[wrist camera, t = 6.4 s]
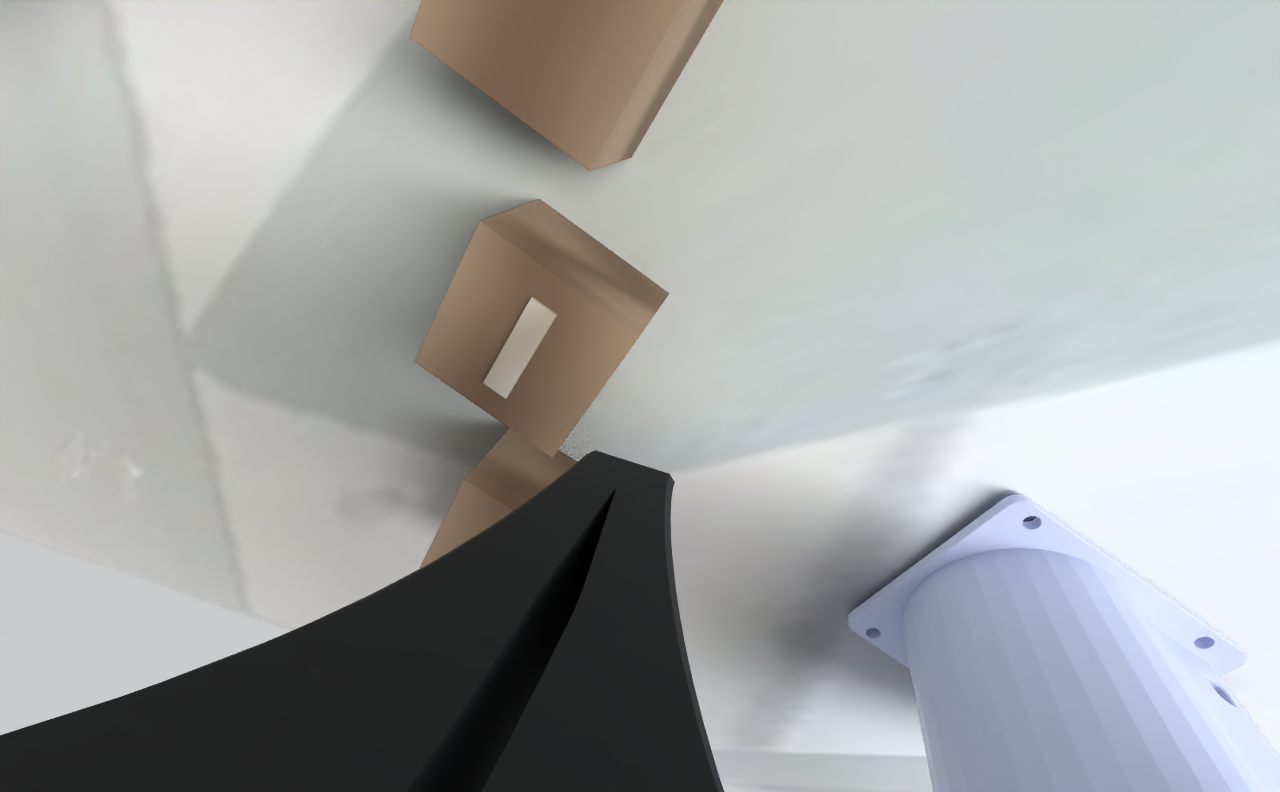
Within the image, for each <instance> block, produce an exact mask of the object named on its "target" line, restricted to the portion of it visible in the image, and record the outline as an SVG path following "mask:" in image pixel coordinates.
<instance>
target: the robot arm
mask: <svg viewBox="0 0 1280 792" xmlns="http://www.w3.org/2000/svg"><path fill="white" fill-rule="evenodd" d="M674 483H675V482H674V480H673V479H672V477H671V475H670V474H668V473H665V472H662V471H659V470H655V469H652V468H649V467H646V466H643V465H640V464H636V463H633V462H630V461H627V460H624V459H620V458H617V457H614V456H611V455H608V454H605V453H601V452H598V451H593V452H591V453H589V454H587V455H586V456H584V457H583V458H582V459H581V460H580V461H579V462H577V463H576V464H575V465H574V466H572V467H571V468H570V469H569V470H568V471H566V472H565V473H564V474H563V475H561V476H560V477H559V478H557V479H556V480H555V481H554V482H552V483H551V484H550V485H548V486H547V487H546V488H544V489H543V490H542V491H540V492H539V493H538V494H536V495H535V496H534V497H532V498H531V499H529V500H528V501H526V502H525V503H524V504H522V505H521V506H519V507H518V508H517V509H515V510H514V511H512V512H511V513H509V514H508V515H507V516H505V517H504V518H502V519H501V520H499V521H498V522H496V523H495V524H493V525H492V526H490V527H489V528H487V529H485V530H484V531H482V532H481V533H479V534H477V535H476V536H474V537H473V538H471V539H469V540H468V541H466V542H465V543H463V544H461V545H460V546H458V547H456V548H455V549H453V550H452V551H450V552H448V553H447V554H445V555H443V556H442V557H440V558H438V559H436V560H435V561H433V562H431V563H429V564H428V565H426V566H424V567H422V568H421V569H419V570H417V571H415V572H413V573H411V574H410V575H408V576H406V577H404V578H402V579H400V580H398V581H396V582H394V583H392V584H390V585H388V586H387V587H385V588H383V589H381V590H379V591H377V592H375V593H373V594H371V595H369V596H367V597H365V598H363V599H360V600H358V601H356V602H354V603H352V604H350V605H348V606H346V607H343V608H341V609H339V610H337V611H335V612H333V613H331V614H328V615H326V616H324V617H322V618H320V619H318V620H316V621H313V622H311V623H309V624H307V625H304V626H302V627H300V628H298V629H295V630H293V631H291V632H288V633H286V634H284V635H281V636H279V637H277V638H274V639H272V640H269V641H267V642H265V643H262V644H260V645H257V646H254V647H252V648H249V649H246V650H244V651H241V652H239V653H236V654H234V655H231V656H229V657H226V658H223V659H221V660H218V661H216V662H213V663H210V664H208V665H205V666H202V667H200V668H197V669H195V670H192V671H189V672H187V673H184V674H182V675H179V676H176V677H174V678H171V679H169V680H166V681H164V682H161V683H158V684H155V685H152V686H149V687H147V688H144V689H141V690H138V691H135V692H133V693H130V694H127V695H124V696H121V697H119V698H116V699H112V700H109V701H106V702H103V703H100V704H97V705H94V706H91V707H87V708H84V709H81V710H78V711H75V712H72V713H69V714H66V715H62V716H60V717H56V718H53V719H50V720H47V721H44V722H41V723H38V724H35V725H31V726H28V727H25V728H22V729H19V730H16V731H13V732H10V733H7V734H3V735H0V792H724V790H723V787H722V784H721V781H720V778H719V775H718V772H717V768H716V765H715V761H714V758H713V754H712V751H711V747H710V744H709V740H708V737H707V733H706V730H705V726H704V723H703V719H702V715H701V711H700V707H699V703H698V700H697V696H696V692H695V688H694V684H693V679H692V675H691V671H690V666H689V662H688V657H687V652H686V647H685V642H684V637H683V631H682V625H681V620H680V614H679V608H678V601H677V594H676V587H675V578H674V569H673V559H672V548H671V522H670V515H671V498H672V490H673V486H674ZM1029 516H1036V518H1035V519H1034V520H1032V521H1030V522H1024V521H1023V520H1024V519H1025V518H1027V517H1029ZM848 625H849V628H850V629H851V630H852V631H853V632H854V633H856V634H857V635H859V636H860V637H862V638H863V639H865V640H866V641H868V642H869V643H871V644H872V645H874V646H875V647H877V648H878V649H880V650H881V651H883V652H884V653H886V654H887V655H889V656H890V657H892V658H893V659H895V660H896V661H897V662H899V663H900V664H902V665H903V666H905V667H906V668H908V669H909V670H910V672H911V678H912V683H913V688H914V693H915V699H916V704H917V709H918V714H919V719H920V725H921V730H922V735H923V740H924V745H925V751H926V756H927V761H928V766H929V771H930V777H931V782H932V787H933V792H1280V755H1279V754H1278V753H1277V751H1276V750H1275V749H1274V747H1273V746H1272V745H1271V743H1270V742H1269V740H1268V739H1267V738H1266V736H1265V735H1264V734H1263V732H1262V731H1261V730H1260V728H1259V727H1258V725H1257V724H1256V723H1255V721H1254V720H1253V719H1252V717H1251V716H1250V715H1249V713H1248V712H1247V710H1246V709H1245V708H1244V706H1243V705H1242V704H1241V702H1240V701H1239V700H1238V698H1237V697H1236V695H1235V694H1234V693H1233V691H1232V690H1231V689H1230V687H1229V686H1228V685H1227V683H1226V682H1225V680H1224V679H1223V678H1222V676H1221V675H1223V674H1225V673H1227V672H1229V671H1231V670H1234V669H1236V668H1238V667H1240V666H1241V665H1243V664H1244V663H1245V662H1246V660H1247V654H1246V653H1245V652H1244V651H1243V649H1242V648H1241V647H1240V646H1239V645H1238V644H1237V643H1236V642H1235V641H1233V640H1232V639H1230V638H1229V637H1228V636H1226V635H1225V634H1223V633H1222V632H1220V631H1219V630H1218V629H1216V628H1215V627H1213V626H1212V625H1210V624H1209V623H1208V622H1206V621H1205V620H1203V619H1202V618H1200V617H1199V616H1198V615H1196V614H1195V613H1193V612H1192V611H1190V610H1189V609H1188V608H1186V607H1185V606H1183V605H1182V604H1180V603H1179V602H1178V601H1176V600H1175V599H1173V598H1172V597H1170V596H1169V595H1167V594H1166V593H1165V592H1163V591H1162V590H1160V589H1159V588H1157V587H1156V586H1155V585H1153V584H1152V583H1150V582H1149V581H1147V580H1146V579H1145V578H1143V577H1142V576H1140V575H1139V574H1137V573H1136V572H1135V571H1133V570H1132V569H1130V568H1129V567H1127V566H1126V565H1125V564H1123V563H1122V562H1120V561H1119V560H1117V559H1116V558H1115V557H1113V556H1112V555H1110V554H1109V553H1107V552H1106V551H1104V550H1103V549H1102V548H1100V547H1099V546H1097V545H1096V544H1094V543H1093V542H1092V541H1090V540H1089V539H1087V538H1086V537H1084V536H1083V535H1082V534H1080V533H1079V532H1077V531H1076V530H1074V529H1073V528H1072V527H1070V526H1069V525H1067V524H1066V523H1064V522H1063V521H1062V520H1060V519H1059V518H1057V517H1056V516H1054V515H1053V514H1052V513H1050V512H1049V511H1047V510H1046V509H1044V508H1043V507H1042V506H1040V505H1039V504H1037V503H1036V502H1034V501H1033V500H1031V499H1030V498H1028V497H1026V496H1024V495H1017V494H1016V495H1010V496H1008V497H1006V498H1004V499H1002V500H1001V501H1000V502H998V503H997V504H996V505H994V506H993V507H991V508H990V509H989V510H987V511H986V512H985V513H983V514H982V515H981V516H979V517H978V518H977V519H975V520H974V521H973V522H971V523H970V524H969V525H967V526H966V527H965V528H963V529H962V530H961V531H959V532H958V533H956V534H955V535H954V536H952V537H951V538H950V539H948V540H947V541H946V542H944V543H943V544H942V545H940V546H939V547H938V548H936V549H935V550H934V551H932V552H931V553H930V554H928V555H927V556H926V557H924V558H923V559H922V560H920V561H919V562H917V563H916V564H915V565H913V566H912V567H911V568H909V569H908V570H907V571H905V572H904V573H903V574H901V575H900V576H899V577H897V578H896V579H895V580H893V581H892V582H891V583H889V584H888V585H887V586H885V587H884V588H883V589H881V590H880V591H878V592H877V593H876V594H874V595H873V596H872V597H870V598H869V599H868V600H866V601H865V602H864V603H862V604H861V605H860V606H858V607H857V608H856V609H854V610H853V611H852V612H851V613H850V614H849V615H848ZM870 628H875V629H876V630H869V629H870ZM1201 637H1203V638H1201ZM1197 638H1199V639H1197Z"/></svg>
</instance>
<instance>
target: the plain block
mask: <svg viewBox="0 0 1280 792" xmlns="http://www.w3.org/2000/svg"><path fill="white" fill-rule="evenodd" d="M722 2H723V0H422V1H421V4H420V7H419V10H418V13H417V16H416V19H415V22H414V25H413V28H412V31H411V34H410V37H409V38H411V39H412V40H413V41H415V42H416V43H418V44H419V45H420V46H422V47H423V48H424V49H426V50H427V51H428V52H430V53H431V54H432V55H434V56H435V57H436V58H438V59H439V60H440V61H442V62H443V63H445V64H446V65H447V66H449V67H450V68H451V69H453V70H454V71H455V72H457V73H458V74H459V75H461V76H462V77H463V78H465V79H466V80H468V81H469V82H470V83H472V84H473V85H474V86H476V87H477V88H478V89H480V90H481V91H482V92H484V93H485V94H486V95H488V96H489V97H491V98H492V99H493V100H495V101H496V102H497V103H499V104H500V105H501V106H503V107H504V108H505V109H507V110H508V111H509V112H511V113H512V114H514V115H515V116H516V117H518V118H519V119H520V120H522V121H523V122H524V123H526V124H527V125H528V126H530V127H531V128H532V129H534V130H535V131H536V132H538V133H539V134H541V135H542V136H543V137H545V138H546V139H547V140H549V141H550V142H551V143H553V144H554V145H555V146H557V147H558V148H559V149H561V150H562V151H564V152H565V153H566V154H568V155H569V156H570V157H572V158H573V159H574V160H576V161H577V162H578V163H580V164H581V165H582V166H584V167H585V168H587V169H588V170H589V171H590V170H593V169H596V168H600V167H603V166H606V165H609V164H612V163H615V162H618V161H621V160H624V159H628V158H631V157H632V156H633V154H634V152H635V151H636V149H637V147H638V145H639V144H640V142H641V140H642V139H643V137H644V135H645V133H646V132H647V130H648V128H649V127H650V125H651V123H652V122H653V120H654V118H655V116H656V115H657V113H658V111H659V110H660V108H661V106H662V104H663V103H664V101H665V99H666V98H667V96H668V94H669V93H670V91H671V89H672V87H673V86H674V84H675V82H676V81H677V79H678V77H679V75H680V74H681V72H682V70H683V69H684V67H685V65H686V64H687V62H688V60H689V58H690V57H691V55H692V53H693V52H694V50H695V48H696V46H697V45H698V43H699V41H700V40H701V38H702V36H703V35H704V33H705V31H706V29H707V28H708V26H709V24H710V23H711V21H712V19H713V17H714V16H715V14H716V12H717V11H718V9H719V7H720V6H721V4H722Z"/></svg>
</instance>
